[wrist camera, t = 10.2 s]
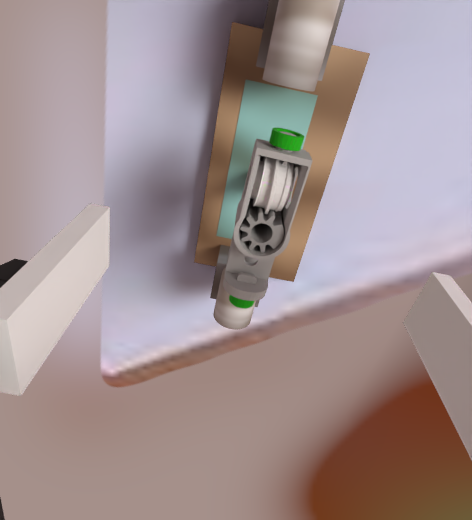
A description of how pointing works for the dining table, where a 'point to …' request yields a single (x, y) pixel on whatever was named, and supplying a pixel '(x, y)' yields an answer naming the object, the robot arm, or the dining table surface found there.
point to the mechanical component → (265, 214)
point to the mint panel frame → (276, 125)
